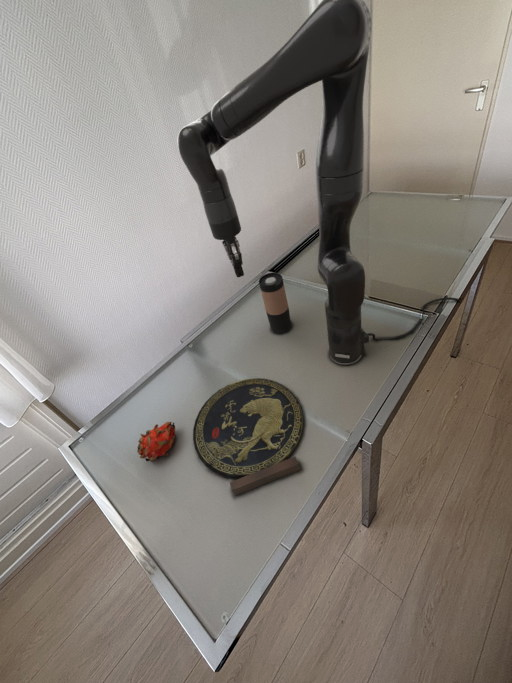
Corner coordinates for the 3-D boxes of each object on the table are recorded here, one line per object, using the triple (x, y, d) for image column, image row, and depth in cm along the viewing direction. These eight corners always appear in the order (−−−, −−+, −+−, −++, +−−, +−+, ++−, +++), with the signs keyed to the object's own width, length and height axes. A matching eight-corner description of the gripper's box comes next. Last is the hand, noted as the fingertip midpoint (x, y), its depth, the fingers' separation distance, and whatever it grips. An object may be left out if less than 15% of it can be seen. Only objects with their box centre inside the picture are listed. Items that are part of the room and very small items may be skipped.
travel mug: (271, 321, 116) (259, 273, 102) (292, 319, 114) (283, 270, 100) (269, 335, 110) (256, 287, 97) (291, 333, 108) (281, 284, 95)
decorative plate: (176, 472, 78) (208, 377, 99) (179, 475, 79) (210, 381, 100) (298, 481, 70) (305, 376, 91) (299, 485, 72) (306, 380, 92)
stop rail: (297, 462, 75) (295, 456, 73) (300, 470, 74) (298, 464, 72) (233, 487, 74) (229, 482, 72) (235, 495, 73) (231, 490, 71)
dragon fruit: (145, 469, 85) (179, 437, 92) (154, 471, 78) (191, 437, 85) (125, 444, 84) (162, 414, 91) (133, 444, 77) (171, 412, 84)
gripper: (242, 219, 74) (259, 281, 86) (230, 203, 84) (246, 261, 96) (212, 229, 74) (232, 291, 85) (203, 212, 84) (223, 269, 95)
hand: (240, 275), depth 91 cm, fingers closed
